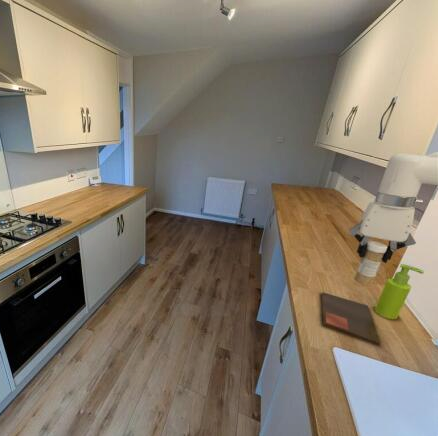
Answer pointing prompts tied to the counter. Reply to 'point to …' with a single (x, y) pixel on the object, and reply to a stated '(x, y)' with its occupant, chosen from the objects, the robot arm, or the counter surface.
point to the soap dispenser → (395, 293)
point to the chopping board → (348, 318)
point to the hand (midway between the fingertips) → (372, 257)
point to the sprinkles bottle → (370, 263)
